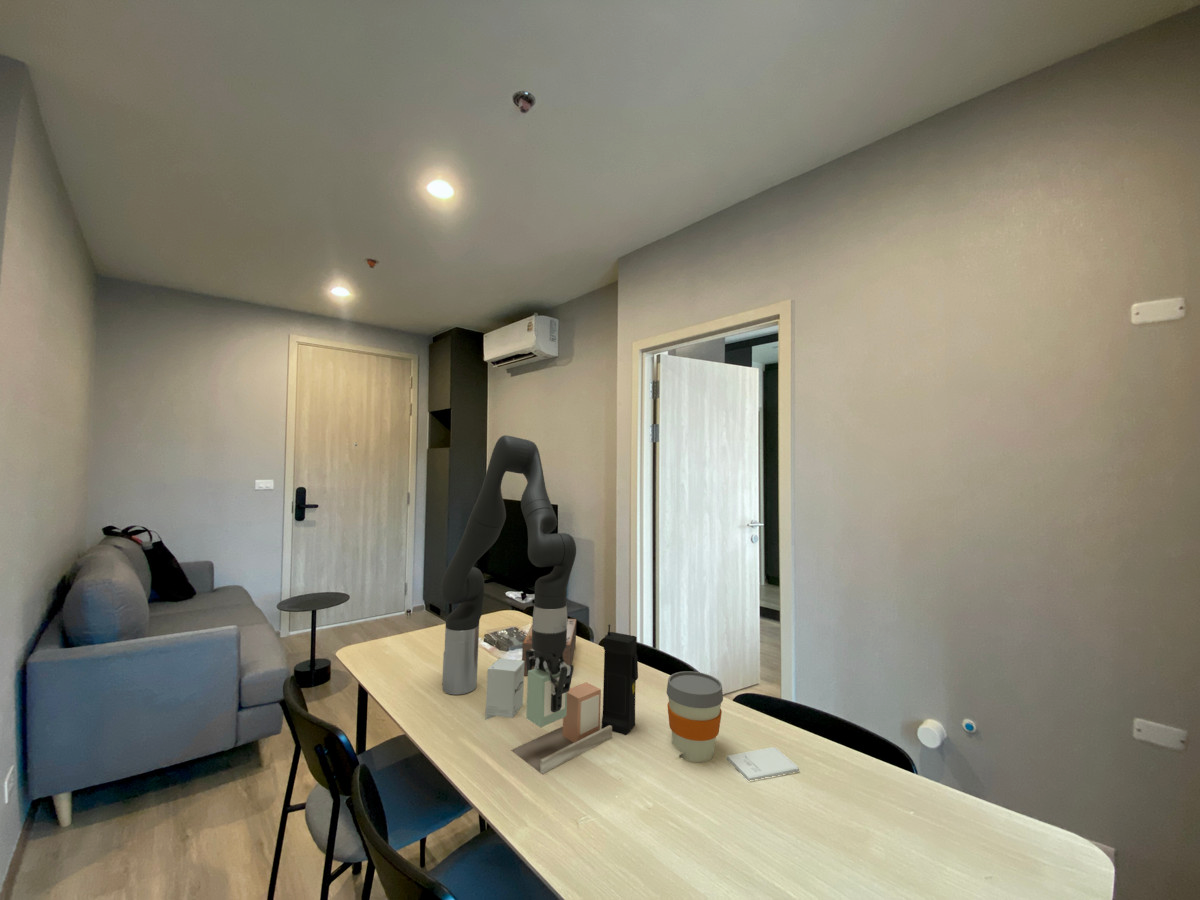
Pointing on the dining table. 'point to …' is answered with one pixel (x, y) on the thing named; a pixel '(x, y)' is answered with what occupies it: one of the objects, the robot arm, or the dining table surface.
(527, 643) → the tissue box cover
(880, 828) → the dining table surface
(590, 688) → the terracotta tin
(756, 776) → the external hard drive
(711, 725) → the reusable coffee cup
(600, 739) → the shallow tray
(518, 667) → the supplement box
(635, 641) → the portable radio
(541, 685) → the tea tin
